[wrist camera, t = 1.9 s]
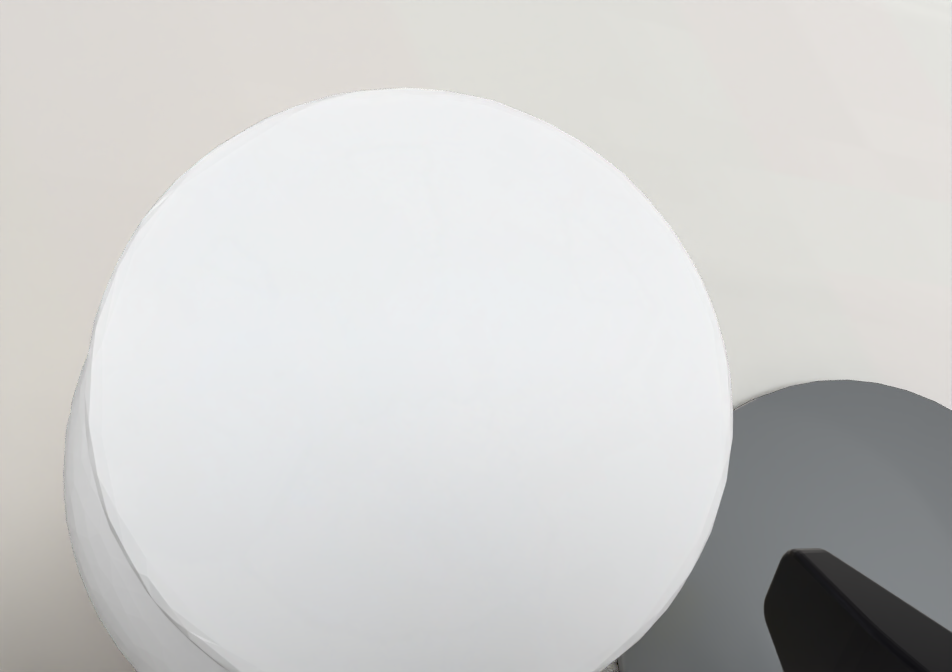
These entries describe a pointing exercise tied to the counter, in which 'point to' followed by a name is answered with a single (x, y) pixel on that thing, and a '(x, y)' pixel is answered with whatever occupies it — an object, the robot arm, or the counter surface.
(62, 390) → the counter surface
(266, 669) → the supplement bottle
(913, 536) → the slate trivet
